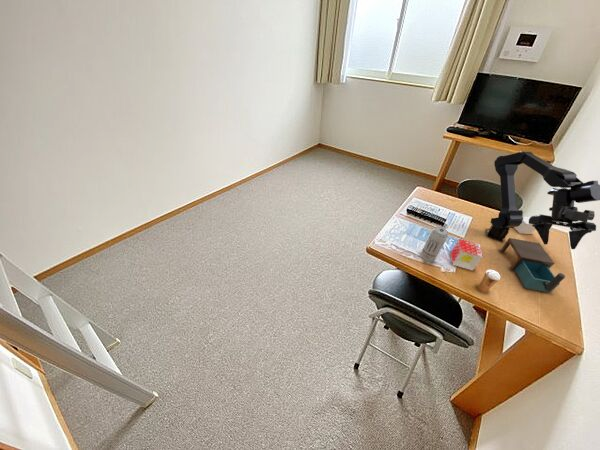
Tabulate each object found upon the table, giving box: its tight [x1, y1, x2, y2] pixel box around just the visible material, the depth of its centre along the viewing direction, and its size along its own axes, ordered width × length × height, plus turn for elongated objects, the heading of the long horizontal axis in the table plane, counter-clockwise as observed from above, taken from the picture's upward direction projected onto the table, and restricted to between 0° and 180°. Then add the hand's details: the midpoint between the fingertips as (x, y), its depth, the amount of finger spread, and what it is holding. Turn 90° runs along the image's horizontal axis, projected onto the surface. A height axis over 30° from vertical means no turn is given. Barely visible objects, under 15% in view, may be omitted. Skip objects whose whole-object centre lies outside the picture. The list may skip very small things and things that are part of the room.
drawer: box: [514, 260, 566, 293], centre depth 103 cm, size 14×9×12 cm, turn 169°
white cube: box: [513, 216, 536, 235], centre depth 133 cm, size 6×6×6 cm
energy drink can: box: [419, 226, 449, 263], centre depth 109 cm, size 6×6×15 cm
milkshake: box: [477, 269, 501, 293], centre depth 99 cm, size 4×5×10 cm
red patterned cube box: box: [450, 238, 484, 271], centre depth 111 cm, size 8×8×8 cm
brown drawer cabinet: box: [499, 237, 555, 271], centre depth 114 cm, size 12×12×8 cm
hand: (559, 246), depth 98 cm, fingers open, 9 cm apart
